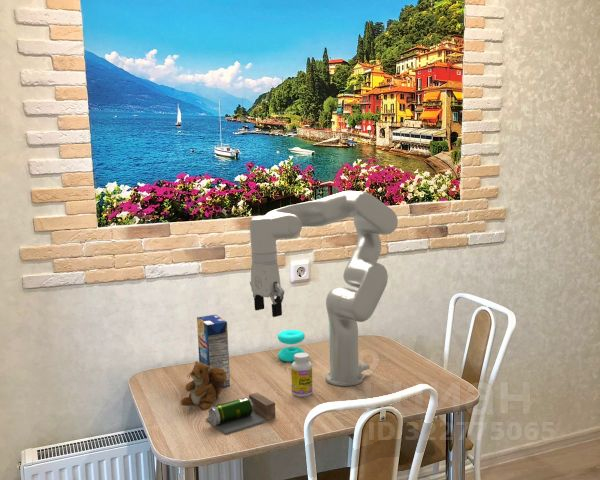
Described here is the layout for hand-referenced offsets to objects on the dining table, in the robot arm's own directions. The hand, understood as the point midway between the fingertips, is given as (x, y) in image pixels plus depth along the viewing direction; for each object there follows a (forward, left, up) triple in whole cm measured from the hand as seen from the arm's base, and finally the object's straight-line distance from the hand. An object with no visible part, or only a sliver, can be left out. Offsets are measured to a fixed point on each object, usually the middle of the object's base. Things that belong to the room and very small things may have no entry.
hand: (268, 312), depth 194 cm
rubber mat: (+15, +5, -29) cm, 33 cm away
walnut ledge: (+6, +5, -29) cm, 30 cm away
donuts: (-28, -30, -29) cm, 50 cm away
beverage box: (+6, -26, -29) cm, 39 cm away
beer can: (+10, +5, -25) cm, 28 cm away
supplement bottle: (-12, 0, -29) cm, 31 cm away
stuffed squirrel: (+16, -14, -29) cm, 36 cm away
